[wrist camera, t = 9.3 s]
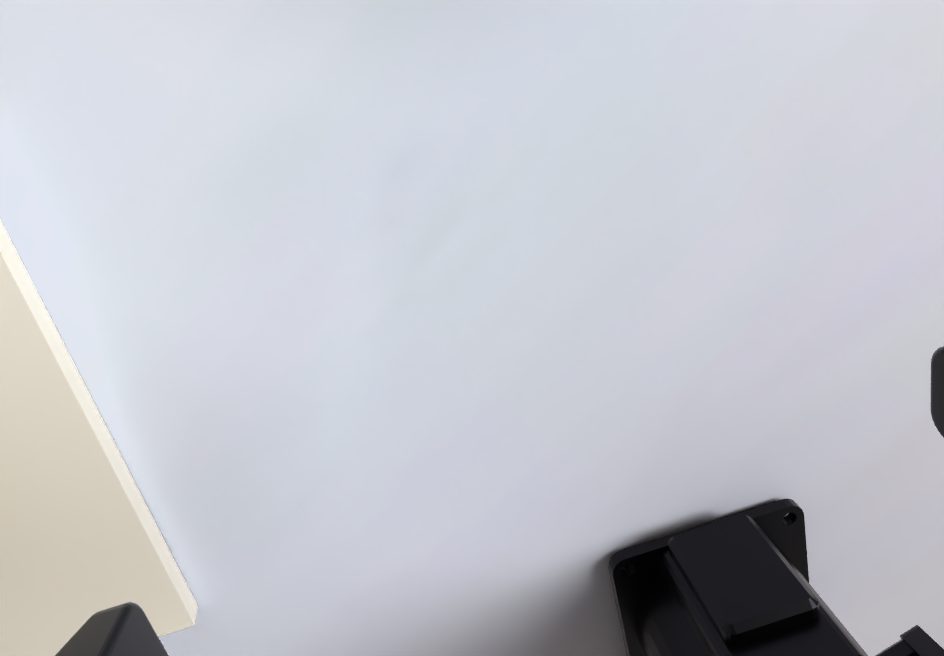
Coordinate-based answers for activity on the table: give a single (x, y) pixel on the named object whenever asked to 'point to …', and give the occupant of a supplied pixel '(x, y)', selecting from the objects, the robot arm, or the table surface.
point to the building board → (66, 494)
